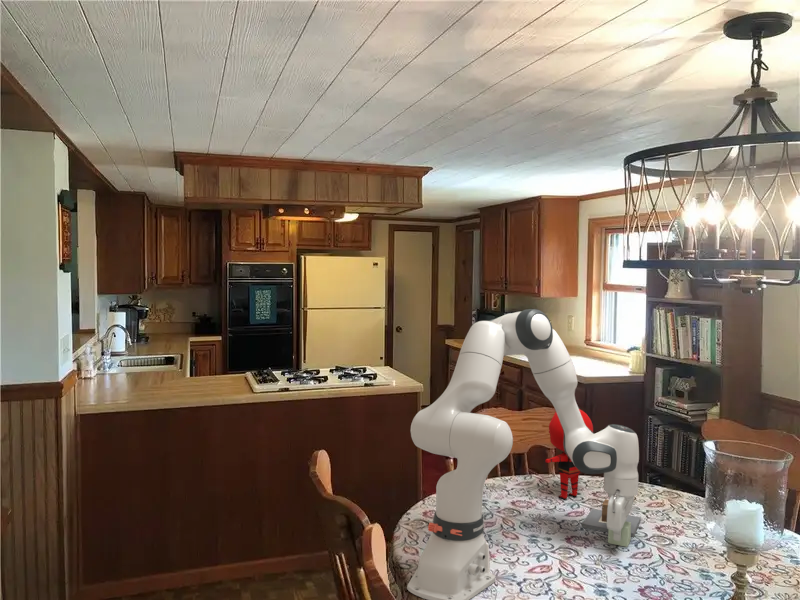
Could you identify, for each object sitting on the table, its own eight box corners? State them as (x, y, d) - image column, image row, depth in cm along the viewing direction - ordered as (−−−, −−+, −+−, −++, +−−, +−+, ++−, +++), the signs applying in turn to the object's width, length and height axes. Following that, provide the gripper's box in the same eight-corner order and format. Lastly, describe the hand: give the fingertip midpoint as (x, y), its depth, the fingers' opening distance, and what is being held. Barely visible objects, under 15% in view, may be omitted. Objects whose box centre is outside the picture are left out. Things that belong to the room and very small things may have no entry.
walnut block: (619, 524, 179) (620, 507, 179) (601, 521, 181) (602, 504, 181) (622, 519, 183) (623, 502, 183) (604, 515, 186) (605, 499, 186)
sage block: (627, 547, 166) (628, 528, 166) (608, 542, 169) (608, 524, 169) (630, 540, 171) (630, 522, 171) (611, 536, 173) (611, 518, 173)
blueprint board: (633, 537, 173) (633, 533, 173) (582, 527, 180) (582, 523, 180) (640, 521, 185) (640, 516, 185) (592, 512, 192) (592, 508, 192)
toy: (575, 487, 216) (577, 400, 215) (608, 498, 204) (610, 407, 203) (531, 498, 204) (532, 406, 203) (562, 511, 192) (565, 414, 192)
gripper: (626, 498, 159) (625, 552, 159) (638, 477, 177) (637, 525, 177) (601, 494, 162) (599, 546, 162) (615, 473, 180) (613, 521, 180)
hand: (619, 535), depth 170 cm, fingers closed on sage block, 5 cm apart
